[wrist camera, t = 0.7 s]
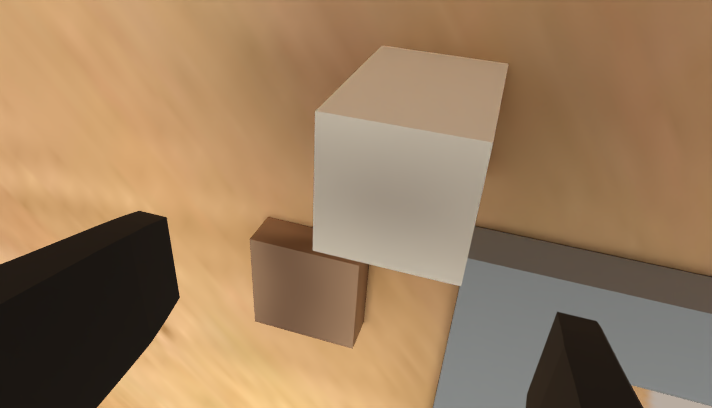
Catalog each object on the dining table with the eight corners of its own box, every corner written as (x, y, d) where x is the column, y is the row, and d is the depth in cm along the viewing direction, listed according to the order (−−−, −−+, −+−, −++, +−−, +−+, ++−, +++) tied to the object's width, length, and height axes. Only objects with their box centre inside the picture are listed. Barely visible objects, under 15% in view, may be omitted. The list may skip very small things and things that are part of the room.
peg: (508, 63, 16) (493, 142, 11) (483, 177, 18) (461, 286, 13) (381, 45, 17) (315, 110, 12) (372, 156, 19) (312, 250, 14)
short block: (373, 236, 21) (359, 265, 19) (365, 316, 23) (352, 348, 22) (271, 212, 22) (249, 239, 20) (274, 292, 24) (255, 321, 23)
